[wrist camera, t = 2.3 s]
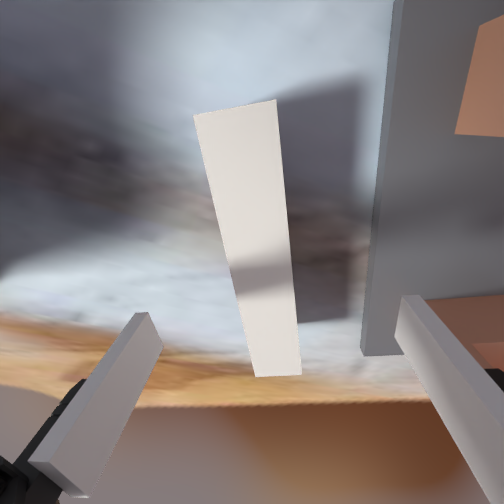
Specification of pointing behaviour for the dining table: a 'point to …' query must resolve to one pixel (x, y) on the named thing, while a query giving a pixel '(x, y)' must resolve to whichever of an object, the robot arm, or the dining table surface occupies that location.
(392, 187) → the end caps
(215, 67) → the dining table surface
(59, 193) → the dining table surface
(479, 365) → the robot arm
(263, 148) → the slat
